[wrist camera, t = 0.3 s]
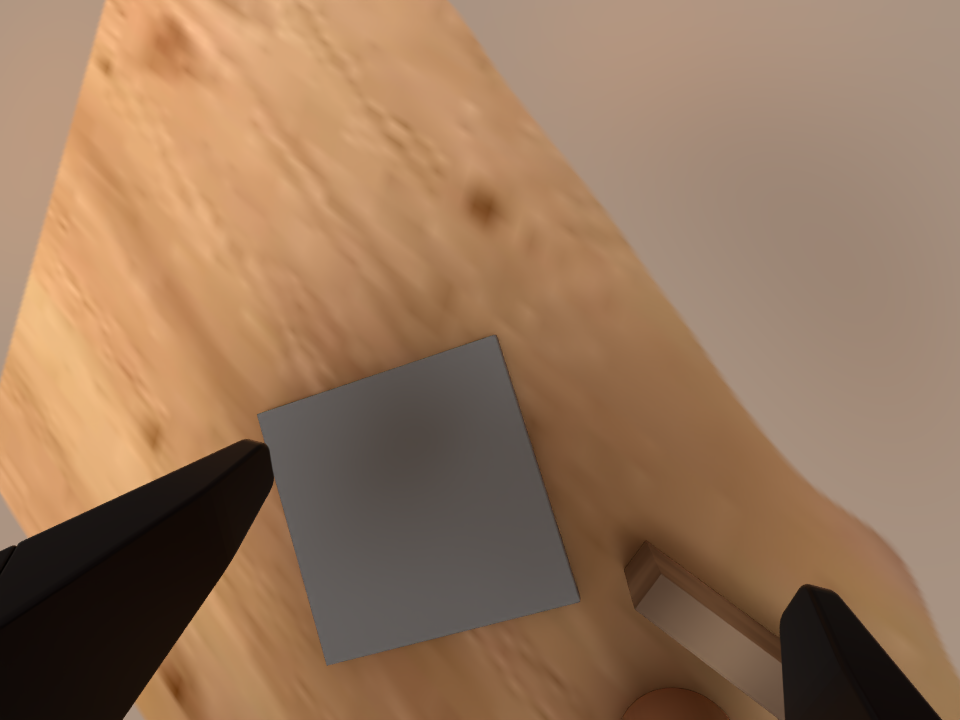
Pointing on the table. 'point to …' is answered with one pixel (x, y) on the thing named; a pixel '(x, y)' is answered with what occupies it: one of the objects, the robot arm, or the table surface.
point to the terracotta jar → (674, 706)
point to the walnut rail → (708, 626)
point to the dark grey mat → (417, 504)
